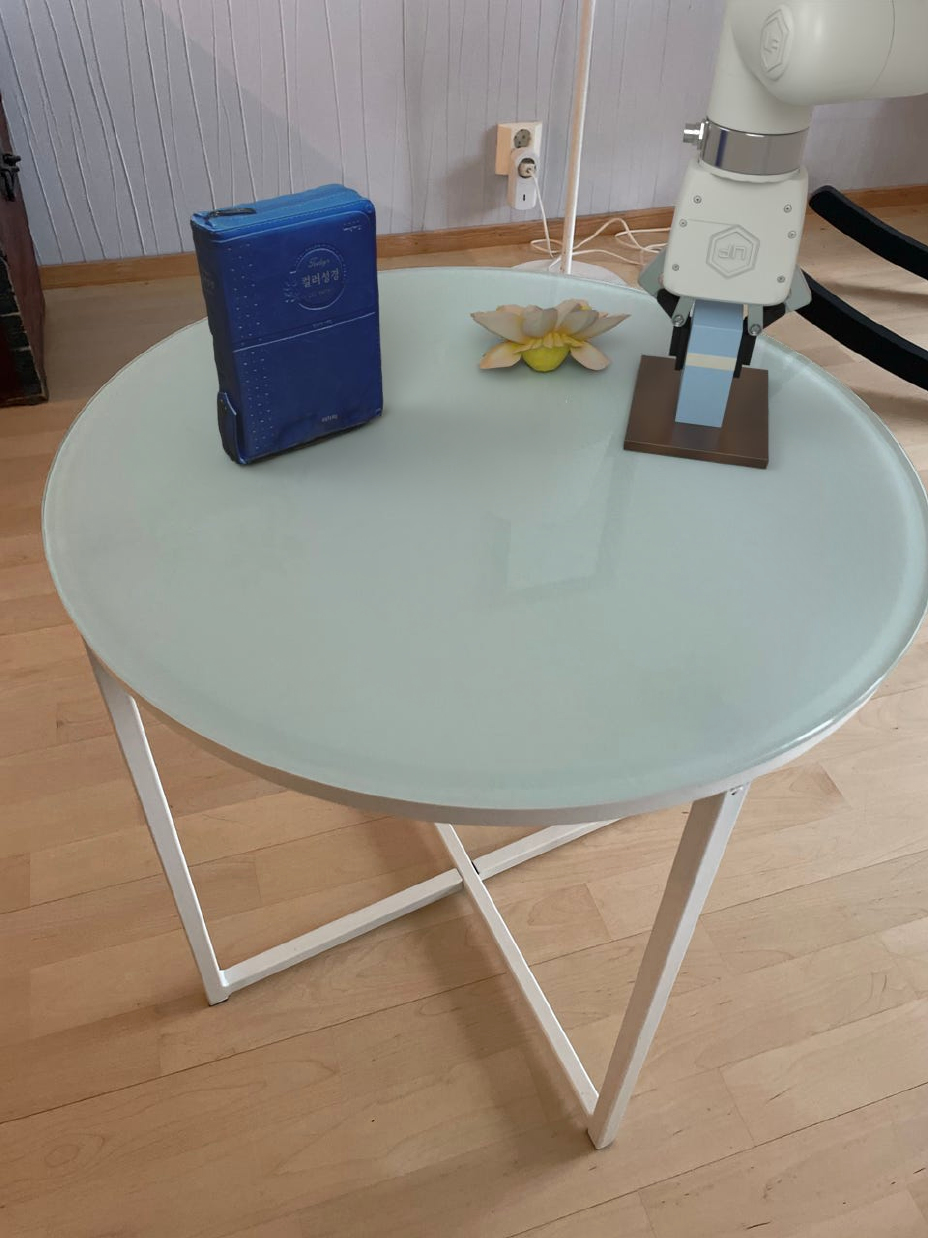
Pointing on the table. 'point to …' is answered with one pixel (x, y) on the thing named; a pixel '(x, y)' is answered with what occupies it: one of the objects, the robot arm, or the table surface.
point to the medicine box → (709, 362)
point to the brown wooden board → (729, 444)
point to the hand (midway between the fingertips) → (707, 365)
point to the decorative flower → (546, 334)
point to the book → (292, 318)
